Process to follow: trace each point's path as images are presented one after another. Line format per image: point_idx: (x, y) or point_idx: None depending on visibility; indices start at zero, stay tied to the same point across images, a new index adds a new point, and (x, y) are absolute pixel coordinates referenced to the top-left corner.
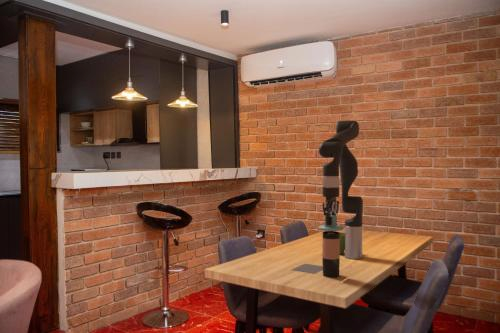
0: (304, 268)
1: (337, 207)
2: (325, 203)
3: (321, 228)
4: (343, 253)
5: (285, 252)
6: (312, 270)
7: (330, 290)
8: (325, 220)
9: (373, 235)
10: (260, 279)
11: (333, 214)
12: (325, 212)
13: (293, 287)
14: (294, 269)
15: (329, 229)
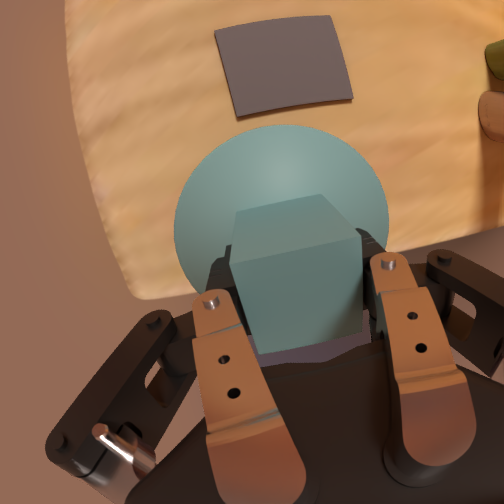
0: (270, 48)
1: (467, 358)
2: (81, 476)
3: (176, 216)
4: (500, 79)
5: None
6: (268, 84)
7: (148, 253)
8: (235, 241)
9: None
10: (78, 62)
11: (369, 303)
12: (158, 349)
13: (90, 174)
14: (229, 34)
15: (194, 284)
